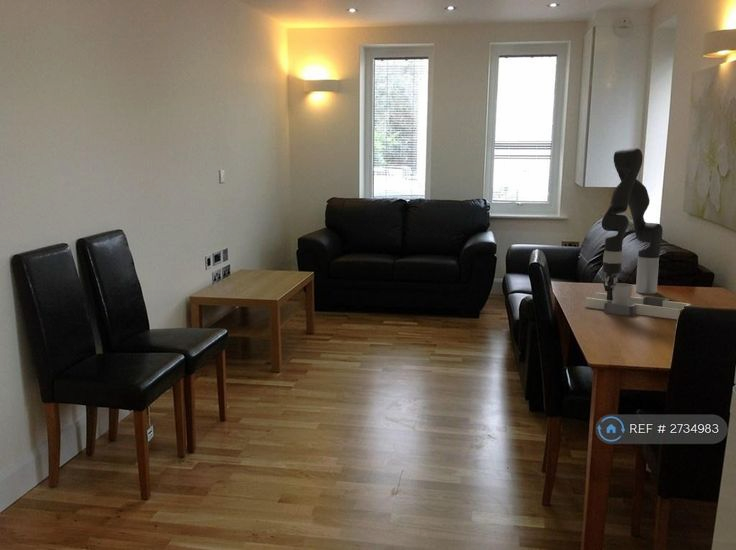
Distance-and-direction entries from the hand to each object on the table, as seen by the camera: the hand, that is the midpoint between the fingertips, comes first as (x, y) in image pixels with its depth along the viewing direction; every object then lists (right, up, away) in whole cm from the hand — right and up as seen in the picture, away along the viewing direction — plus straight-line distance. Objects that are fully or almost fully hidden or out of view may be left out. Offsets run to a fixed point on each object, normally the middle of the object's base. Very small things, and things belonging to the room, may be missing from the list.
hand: (609, 300), depth 280 cm
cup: (+4, -3, -2) cm, 6 cm away
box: (+9, -4, -6) cm, 12 cm away
